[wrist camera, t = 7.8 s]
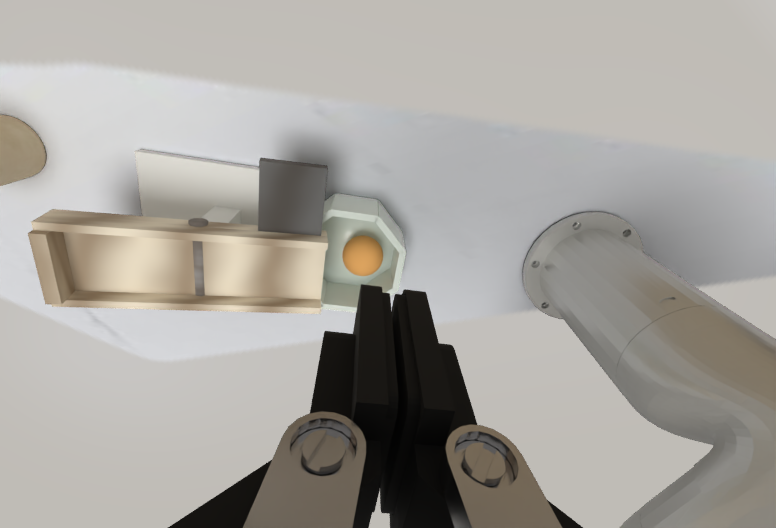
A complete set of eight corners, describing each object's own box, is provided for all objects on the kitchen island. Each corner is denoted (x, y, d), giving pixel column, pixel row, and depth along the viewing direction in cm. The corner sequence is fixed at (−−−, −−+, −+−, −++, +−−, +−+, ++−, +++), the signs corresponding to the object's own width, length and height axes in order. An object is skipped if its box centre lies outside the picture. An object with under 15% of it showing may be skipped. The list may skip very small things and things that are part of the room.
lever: (332, 165, 31) (336, 176, 28) (319, 299, 37) (320, 319, 34) (36, 129, 26) (4, 138, 24) (70, 290, 32) (48, 313, 29)
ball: (347, 244, 35) (343, 227, 39) (342, 282, 37) (338, 263, 40) (389, 247, 36) (382, 230, 40) (383, 284, 38) (376, 265, 41)
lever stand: (316, 176, 37) (306, 196, 31) (307, 292, 43) (296, 329, 37) (140, 149, 36) (93, 165, 30) (153, 274, 41) (116, 309, 35)
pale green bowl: (407, 203, 39) (412, 220, 34) (390, 291, 43) (393, 317, 39) (304, 188, 38) (295, 204, 33) (297, 280, 42) (289, 305, 38)
